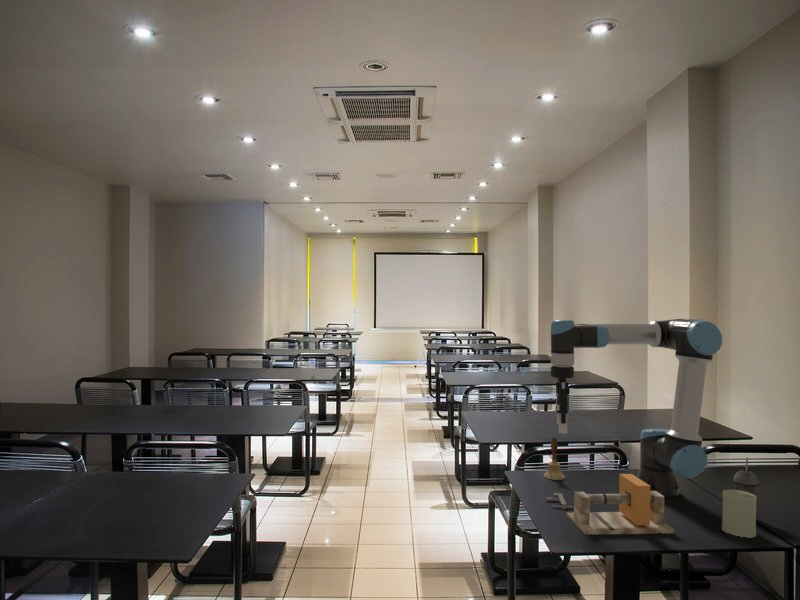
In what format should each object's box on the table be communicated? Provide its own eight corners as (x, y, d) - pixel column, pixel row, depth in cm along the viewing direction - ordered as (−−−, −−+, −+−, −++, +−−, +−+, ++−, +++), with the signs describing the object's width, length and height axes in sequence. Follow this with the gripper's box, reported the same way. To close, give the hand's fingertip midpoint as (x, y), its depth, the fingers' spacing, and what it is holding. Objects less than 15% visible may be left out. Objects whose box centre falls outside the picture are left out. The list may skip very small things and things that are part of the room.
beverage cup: (754, 515, 189) (756, 455, 189) (760, 523, 182) (762, 460, 182) (730, 512, 191) (731, 452, 191) (735, 519, 184) (736, 458, 184)
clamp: (544, 491, 203) (573, 493, 202) (544, 498, 203) (573, 499, 202) (550, 507, 188) (581, 509, 187) (550, 513, 188) (581, 515, 187)
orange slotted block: (630, 510, 186) (631, 473, 186) (649, 525, 174) (650, 485, 174) (618, 510, 185) (619, 473, 185) (637, 525, 173) (637, 486, 173)
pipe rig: (648, 514, 188) (649, 485, 188) (674, 533, 173) (674, 501, 173) (566, 515, 186) (566, 486, 186) (584, 534, 171) (585, 502, 171)
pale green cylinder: (756, 540, 169) (757, 500, 169) (720, 533, 173) (721, 494, 173) (756, 530, 176) (757, 491, 176) (722, 523, 181) (722, 486, 181)
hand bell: (544, 479, 223) (545, 439, 223) (542, 473, 231) (543, 434, 231) (566, 481, 222) (566, 440, 222) (563, 474, 230) (564, 435, 230)
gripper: (549, 361, 205) (549, 420, 205) (552, 369, 180) (551, 436, 180) (571, 361, 203) (571, 421, 203) (576, 370, 179) (576, 437, 179)
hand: (562, 428), depth 192 cm, fingers open, 13 cm apart
